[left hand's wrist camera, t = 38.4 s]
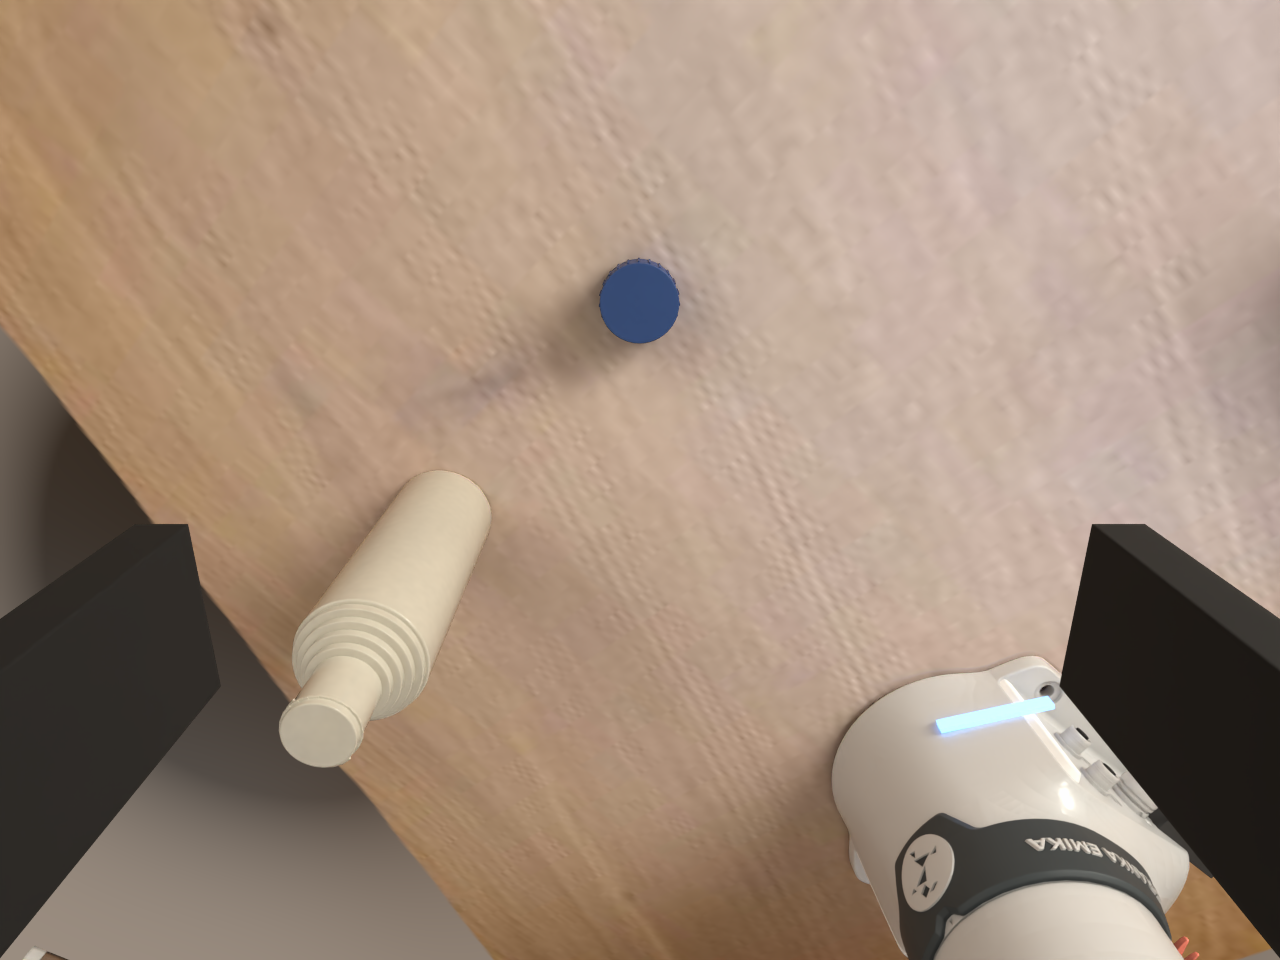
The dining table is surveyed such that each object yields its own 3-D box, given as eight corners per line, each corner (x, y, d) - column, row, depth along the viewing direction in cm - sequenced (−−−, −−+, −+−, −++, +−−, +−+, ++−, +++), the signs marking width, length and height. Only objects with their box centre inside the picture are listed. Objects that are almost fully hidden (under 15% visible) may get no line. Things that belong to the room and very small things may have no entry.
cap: (673, 341, 44) (674, 349, 42) (596, 332, 43) (594, 339, 41) (683, 263, 42) (685, 267, 40) (604, 253, 42) (603, 257, 40)
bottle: (375, 503, 47) (203, 718, 28) (451, 451, 46) (324, 640, 27) (436, 575, 48) (311, 823, 30) (511, 527, 47) (429, 753, 29)
